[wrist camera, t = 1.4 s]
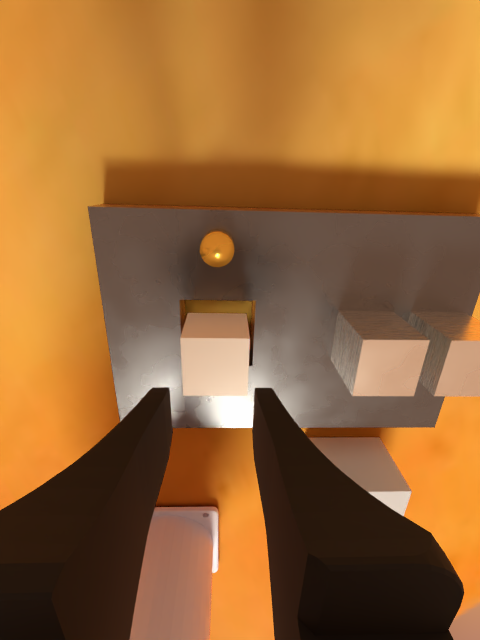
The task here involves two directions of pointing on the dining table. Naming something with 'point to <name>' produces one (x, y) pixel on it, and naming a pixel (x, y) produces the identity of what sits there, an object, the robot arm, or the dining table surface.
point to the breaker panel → (297, 308)
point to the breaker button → (215, 354)
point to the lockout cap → (368, 467)
